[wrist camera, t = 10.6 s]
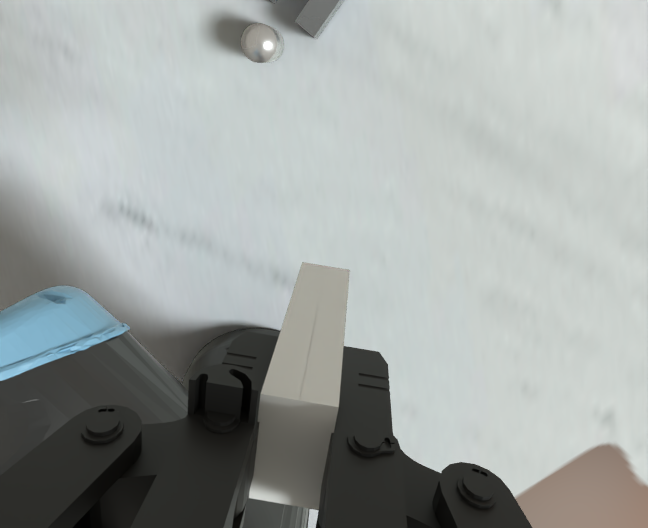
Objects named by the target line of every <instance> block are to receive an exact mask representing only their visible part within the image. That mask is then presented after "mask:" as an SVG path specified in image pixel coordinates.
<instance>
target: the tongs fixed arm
mask: <svg viewBox="0 0 648 528" xmlns="http://www.w3.org/2000/svg"><path fill="white" fill-rule="evenodd" d="M343 1H344V0H309V1H308V2H307V4H306V5H305V7H304V8H303V10H302V11H301V13H300V14H299V16H298V17H297V18H296V20H295V22H296V23H297V24H298V25H300V26H301V27H302V28H303V29H304V30H305V31H307V32H308V33H309V34H310V35H311V36H312V37H314V38H316V39H317V38H318V37H319V35H320V34H321V33H322V31H323V30H324V28H325V27H326V25H327V24H328V23H329V21H330V20H331V18H332V17H333V16H334V14H335V13H336V11H337V10H338V8H339V7H340V6H341V4H342V3H343ZM241 47H242V51H243V53H244V54H245V56H246V57H247V58H248V59H250V60H251V61H253V62H257V63H270V62H274V61H276V60H277V59H279V58H280V56H281V55H282V53H283V50H284V41H283V38H282V35H281V34H280V33H279V31H278V30H276V29H275V28H273V27H270V26H267V25H265V24H261V23H254V24H251V25H249V26H248V27H247V28H246V29H245V30H244V32H243V34H242V36H241Z"/></svg>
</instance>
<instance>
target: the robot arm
mask: <svg viewBox="0 0 648 528" xmlns="http://www.w3.org/2000/svg"><path fill="white" fill-rule="evenodd" d="M349 272H350V270H347V269H341V268H334V267H328V266H322V265H316V264H310V263H304V262H302V265H301V268H300V271H299V275H298V278H297V281H296V284H295V287H294V290H293V293H292V297H291V300H290V303H289V306H288V309H287V312H286V315H285V319H284V322H283V325H282V328H281V331H280V332H279V331H274V330H268V329H243V330H237V331H233V332H230V333H227V334H224V335H222V336H220V337H218V338H216V339H214V340H213V341H211V342H210V343H208V344H207V345H206V346H205V347H204V348H203V349H202V350H201V351H200V352H199V353H198V354H197V356H196V357H195V359H194V360H193V362H192V364H191V366H190V367H189V369H188V371H187V373H186V375H185V377H184V380H183V383H182V384H181V383H180V382H179V381H178V380H177V379H176V378H175V377H174V376H173V375H172V374H171V373H169V372H168V371H167V370H166V369H165V368H164V367H163V366H162V365H161V364H160V363H159V362H158V361H157V360H156V359H155V358H154V357H153V356H152V355H151V354H150V353H149V352H148V351H147V350H146V349H145V348H144V347H143V346H142V345H141V344H140V343H139V342H138V341H137V340H136V339H135V338H134V337H133V336H132V335H131V334H130V333H129V332H128V331H127V330H129V329H130V327H129V326H128V325H127V324H125V323H120V322H119V321H118V320H117V319H116V318H115V317H113V316H112V315H111V314H110V313H109V312H108V311H107V310H106V309H104V308H103V307H102V306H101V305H100V304H99V303H98V302H97V301H96V300H94V299H93V298H92V297H91V296H90V295H89V294H87V293H86V292H85V291H83V290H81V289H79V288H76V287H72V286H54V287H51V288H47V289H44V290H42V291H39V292H37V293H35V294H33V295H31V296H29V297H27V298H25V299H23V300H21V301H19V302H17V303H15V304H14V305H12V306H10V307H8V308H6V309H4V310H2V311H1V312H0V528H307V527H308V518H309V509H315V510H319V512H318V518H317V524H316V528H532V527H531V525H530V523H529V521H528V520H527V519H526V516H525V515H524V513H523V511H522V510H521V508H520V506H519V505H518V503H517V501H516V500H515V498H514V496H513V495H512V493H511V491H510V490H509V489H508V487H507V486H506V485H505V484H504V482H503V481H502V480H501V479H500V478H499V477H497V476H496V475H495V474H493V473H492V472H490V471H489V470H487V469H485V468H483V467H480V466H478V465H475V464H470V463H463V462H460V463H455V464H450V465H449V466H447V467H446V468H445V469H444V470H442V473H439V472H436V471H434V470H432V469H430V468H427V467H425V466H423V465H421V464H419V463H417V462H415V461H413V460H412V459H411V458H409V457H408V456H407V455H406V454H404V452H403V451H402V450H401V449H400V446H399V443H398V440H397V439H396V438H395V437H394V436H393V432H392V417H391V403H390V392H389V380H388V379H389V375H388V364H387V363H386V361H385V360H384V358H383V357H382V356H381V354H380V353H379V352H376V351H370V350H364V349H358V348H352V347H346V346H344V335H345V322H346V310H347V297H348V285H349Z"/></svg>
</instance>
